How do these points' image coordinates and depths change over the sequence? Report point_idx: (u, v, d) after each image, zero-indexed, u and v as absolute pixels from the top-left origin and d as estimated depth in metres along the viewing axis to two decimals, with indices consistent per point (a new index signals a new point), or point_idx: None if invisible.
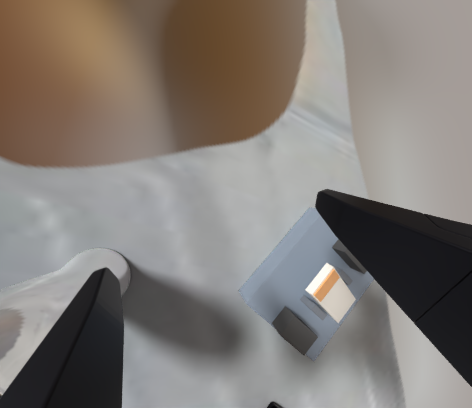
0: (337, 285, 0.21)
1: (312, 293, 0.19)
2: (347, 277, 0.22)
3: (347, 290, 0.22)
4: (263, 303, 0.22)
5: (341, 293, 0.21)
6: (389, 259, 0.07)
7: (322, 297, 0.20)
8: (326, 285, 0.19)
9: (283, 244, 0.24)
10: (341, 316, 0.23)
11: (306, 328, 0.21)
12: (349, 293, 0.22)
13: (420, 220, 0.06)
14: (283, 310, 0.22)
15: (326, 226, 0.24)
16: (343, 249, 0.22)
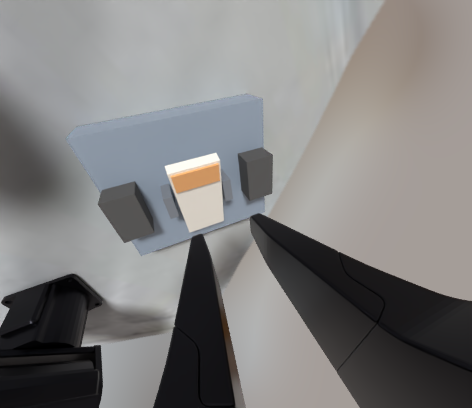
0: (212, 189, 0.15)
1: (169, 173, 0.12)
2: (229, 191, 0.17)
3: (220, 204, 0.17)
4: (100, 157, 0.14)
5: (210, 203, 0.16)
6: (307, 300, 0.06)
7: (182, 189, 0.14)
8: (195, 177, 0.13)
9: (182, 108, 0.16)
10: (197, 228, 0.19)
11: (144, 216, 0.15)
12: (220, 209, 0.18)
13: (331, 261, 0.05)
14: (128, 184, 0.15)
15: (249, 122, 0.16)
16: (247, 159, 0.16)
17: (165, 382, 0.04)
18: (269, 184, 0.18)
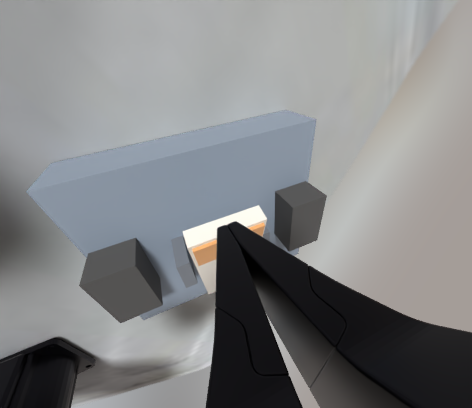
0: None
1: (191, 246, 0.08)
2: None
3: None
4: (84, 212, 0.09)
5: None
6: (278, 314, 0.06)
7: (207, 260, 0.09)
8: None
9: (202, 134, 0.11)
10: None
11: (148, 289, 0.11)
12: None
13: (299, 276, 0.05)
14: (125, 243, 0.11)
15: (294, 151, 0.12)
16: (292, 203, 0.12)
17: (217, 355, 0.04)
18: (316, 230, 0.14)
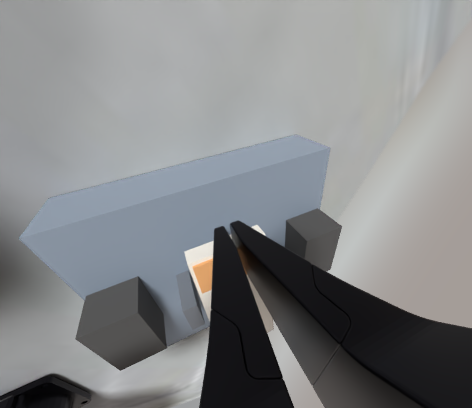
0: None
1: (191, 262, 0.08)
2: None
3: None
4: (82, 254, 0.08)
5: None
6: (281, 313, 0.06)
7: (210, 286, 0.09)
8: None
9: (210, 163, 0.11)
10: None
11: (152, 334, 0.10)
12: (268, 312, 0.12)
13: (302, 274, 0.05)
14: (127, 283, 0.10)
15: (307, 180, 0.11)
16: (306, 235, 0.11)
17: (211, 358, 0.04)
18: (330, 260, 0.13)
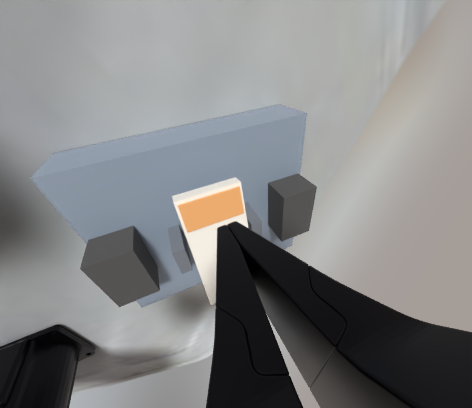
0: None
1: (176, 201, 0.09)
2: (259, 234, 0.13)
3: None
4: (84, 199, 0.10)
5: None
6: (278, 314, 0.06)
7: (194, 226, 0.10)
8: (211, 207, 0.10)
9: (197, 126, 0.12)
10: None
11: (146, 274, 0.11)
12: None
13: (299, 276, 0.05)
14: (124, 230, 0.11)
15: (286, 144, 0.12)
16: (284, 193, 0.12)
17: (217, 355, 0.04)
18: (307, 221, 0.14)
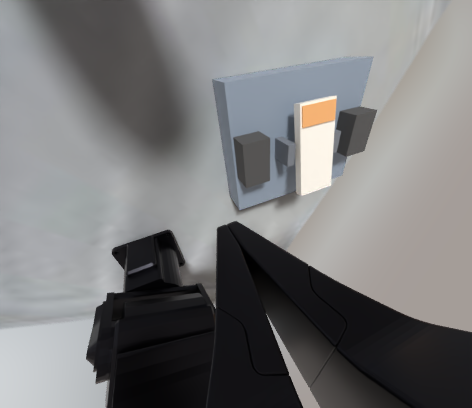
0: (327, 132, 0.17)
1: (301, 103, 0.15)
2: (336, 144, 0.18)
3: (330, 157, 0.18)
4: (242, 103, 0.15)
5: (323, 152, 0.18)
6: (278, 314, 0.06)
7: (307, 123, 0.16)
8: (319, 110, 0.16)
9: (299, 66, 0.17)
10: (308, 189, 0.19)
11: (268, 162, 0.17)
12: (330, 165, 0.19)
13: (299, 276, 0.05)
14: (254, 132, 0.17)
15: (356, 80, 0.18)
16: (355, 114, 0.18)
17: (217, 355, 0.04)
18: (365, 141, 0.20)
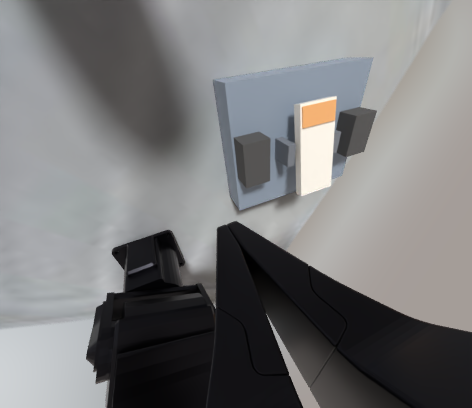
0: (327, 133, 0.17)
1: (301, 104, 0.15)
2: (336, 144, 0.19)
3: (330, 158, 0.18)
4: (242, 104, 0.15)
5: (323, 152, 0.18)
6: (278, 314, 0.06)
7: (307, 124, 0.16)
8: (319, 111, 0.16)
9: (299, 66, 0.18)
10: (308, 190, 0.19)
11: (268, 162, 0.17)
12: (330, 166, 0.19)
13: (299, 276, 0.05)
14: (255, 133, 0.17)
15: (356, 81, 0.18)
16: (355, 114, 0.18)
17: (217, 355, 0.04)
18: (365, 142, 0.20)
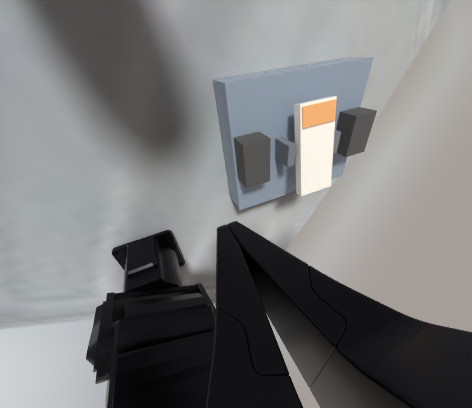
0: (327, 133, 0.17)
1: (301, 104, 0.15)
2: (336, 144, 0.19)
3: (330, 158, 0.18)
4: (242, 104, 0.15)
5: (323, 152, 0.18)
6: (278, 314, 0.06)
7: (307, 124, 0.16)
8: (319, 111, 0.16)
9: (299, 66, 0.18)
10: (308, 190, 0.19)
11: (268, 162, 0.17)
12: (330, 166, 0.19)
13: (299, 276, 0.05)
14: (255, 133, 0.17)
15: (356, 81, 0.18)
16: (355, 114, 0.18)
17: (217, 355, 0.04)
18: (365, 142, 0.20)
